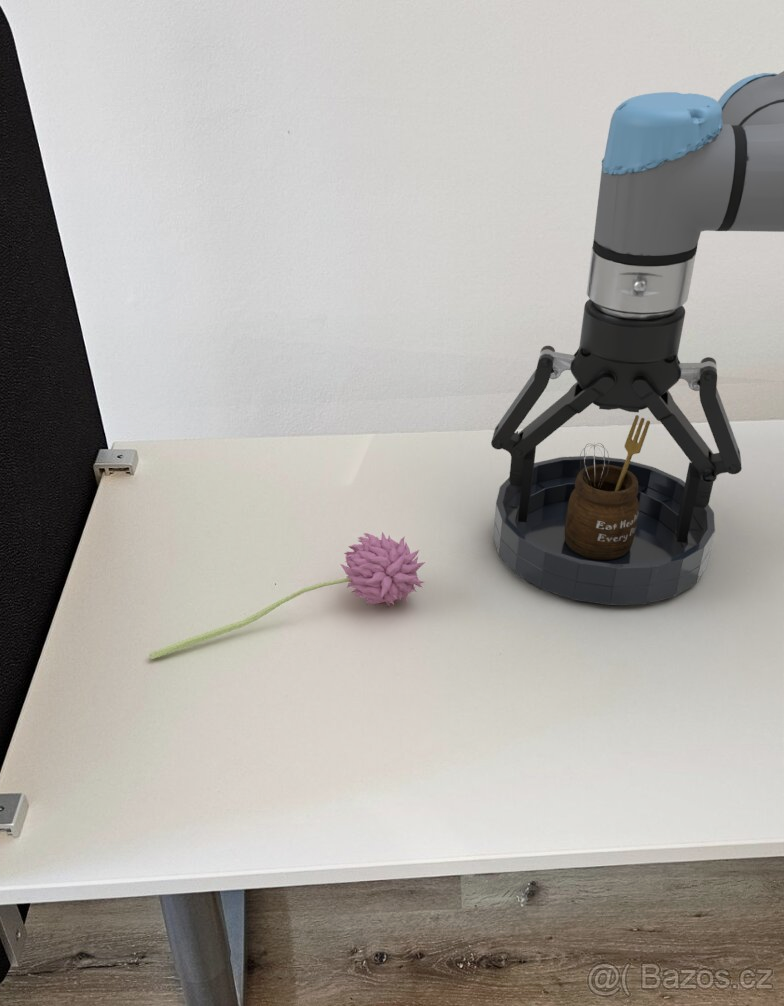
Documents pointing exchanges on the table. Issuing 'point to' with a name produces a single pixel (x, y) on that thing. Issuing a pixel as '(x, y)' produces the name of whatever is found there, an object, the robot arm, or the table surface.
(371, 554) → the artificial flower
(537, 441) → the robot arm
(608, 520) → the utensil holder
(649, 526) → the bowl
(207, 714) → the table surface
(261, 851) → the table surface
